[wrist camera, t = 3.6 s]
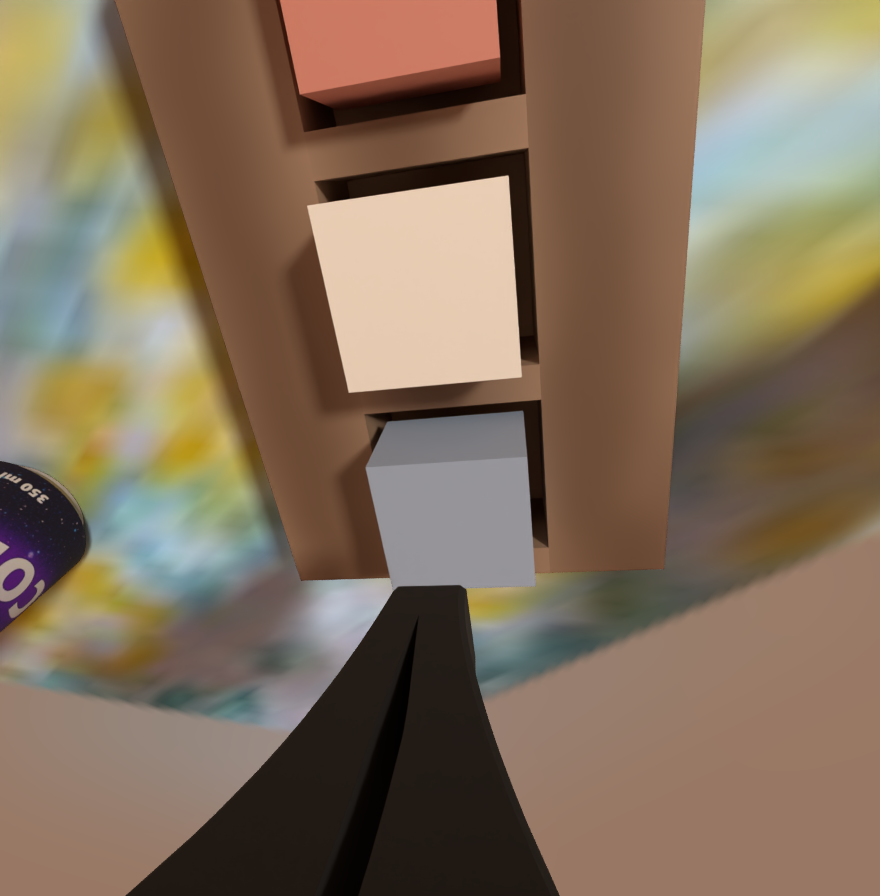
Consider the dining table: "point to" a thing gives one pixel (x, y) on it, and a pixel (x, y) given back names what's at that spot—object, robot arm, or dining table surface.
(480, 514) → the grey block
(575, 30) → the brown slotted tray
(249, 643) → the dining table surface
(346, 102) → the red key
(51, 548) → the beverage can
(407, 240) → the ivory key
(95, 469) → the dining table surface
